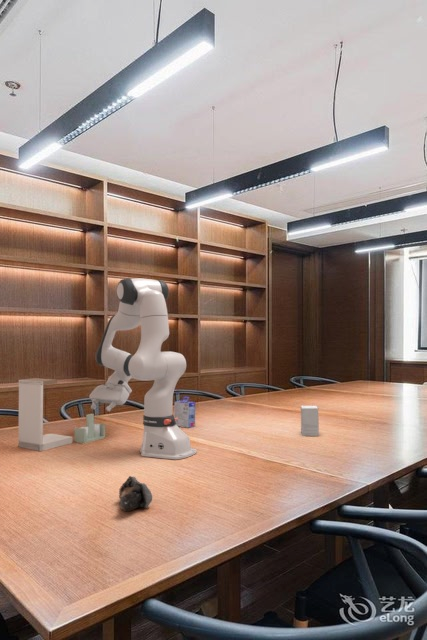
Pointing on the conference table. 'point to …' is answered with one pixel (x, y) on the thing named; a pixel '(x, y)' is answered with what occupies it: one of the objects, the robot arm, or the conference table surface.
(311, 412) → the supplement box
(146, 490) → the bison figurine
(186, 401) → the ink cartridge box
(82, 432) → the glass caddy
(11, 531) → the conference table surface
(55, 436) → the white c-shaped upright piece
